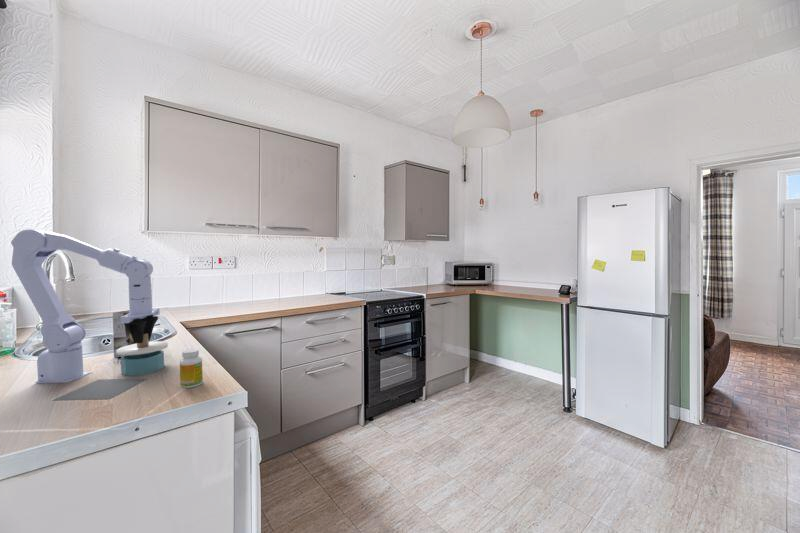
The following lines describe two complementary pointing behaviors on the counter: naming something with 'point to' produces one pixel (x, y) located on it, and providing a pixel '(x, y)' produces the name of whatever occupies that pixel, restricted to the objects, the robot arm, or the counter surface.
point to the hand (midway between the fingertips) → (142, 341)
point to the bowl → (142, 363)
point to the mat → (101, 389)
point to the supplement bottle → (191, 369)
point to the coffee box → (121, 332)
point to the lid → (142, 347)
